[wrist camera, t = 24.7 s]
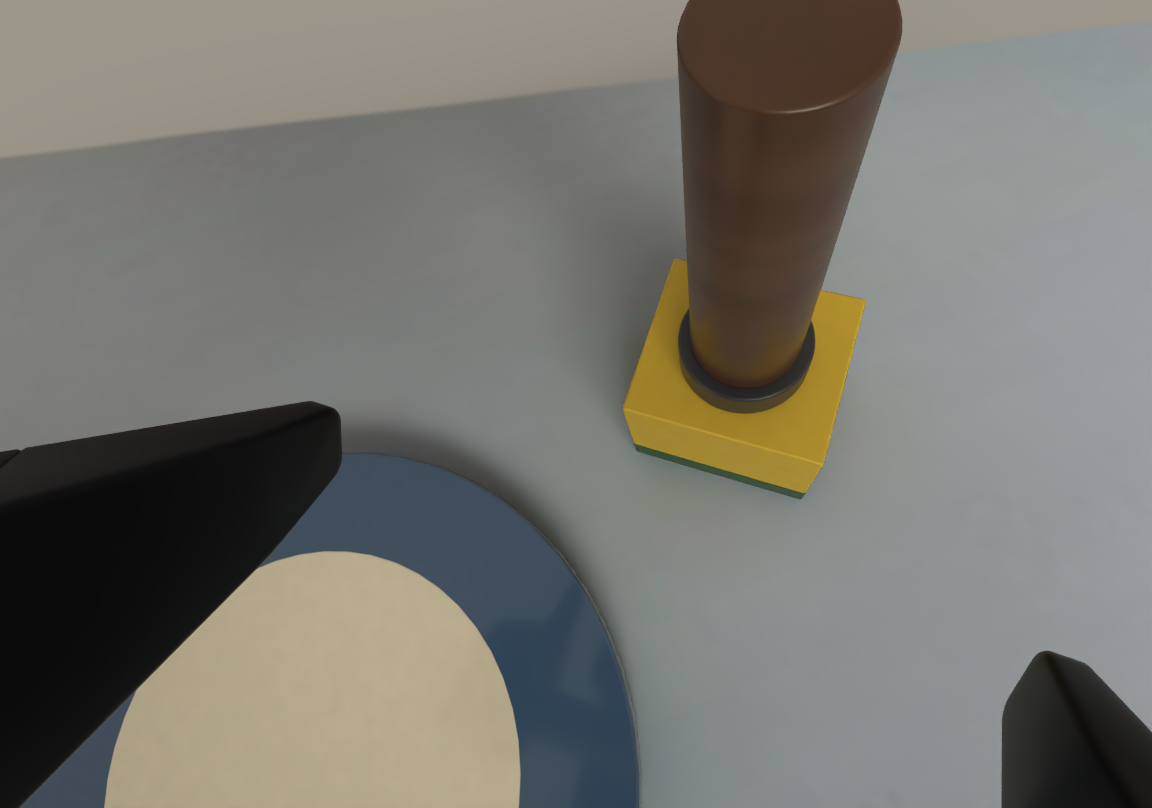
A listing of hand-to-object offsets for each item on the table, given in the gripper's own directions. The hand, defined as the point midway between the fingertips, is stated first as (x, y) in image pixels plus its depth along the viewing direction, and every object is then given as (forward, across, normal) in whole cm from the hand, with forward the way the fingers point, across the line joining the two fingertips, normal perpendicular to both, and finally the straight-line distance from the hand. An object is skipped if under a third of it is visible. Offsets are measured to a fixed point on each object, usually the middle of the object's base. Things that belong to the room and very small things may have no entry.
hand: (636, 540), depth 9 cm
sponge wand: (+13, 0, +4) cm, 13 cm away
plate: (+3, +8, +14) cm, 16 cm away
